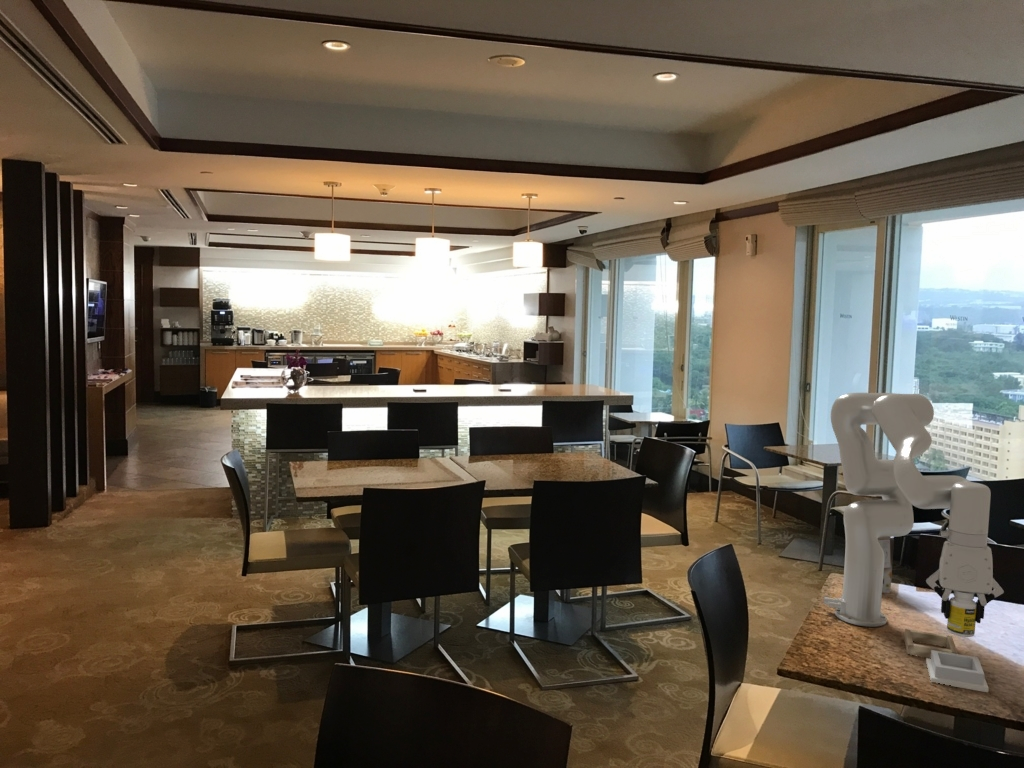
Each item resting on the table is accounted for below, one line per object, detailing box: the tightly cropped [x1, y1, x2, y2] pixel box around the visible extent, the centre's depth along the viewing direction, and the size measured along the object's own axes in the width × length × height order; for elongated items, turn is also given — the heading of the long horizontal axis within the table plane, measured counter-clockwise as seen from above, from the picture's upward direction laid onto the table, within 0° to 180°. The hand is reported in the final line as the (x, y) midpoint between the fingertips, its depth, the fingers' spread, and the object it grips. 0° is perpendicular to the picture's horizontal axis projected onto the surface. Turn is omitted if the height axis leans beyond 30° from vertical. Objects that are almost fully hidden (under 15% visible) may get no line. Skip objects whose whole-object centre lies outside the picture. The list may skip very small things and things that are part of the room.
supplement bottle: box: [946, 590, 977, 638], centre depth 178 cm, size 5×5×10 cm
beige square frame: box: [903, 628, 959, 659], centre depth 193 cm, size 10×10×2 cm
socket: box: [925, 650, 989, 693], centre depth 179 cm, size 11×11×4 cm
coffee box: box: [878, 537, 895, 594], centre depth 236 cm, size 9×6×16 cm
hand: (961, 618), depth 178 cm, fingers closed on supplement bottle, 5 cm apart
